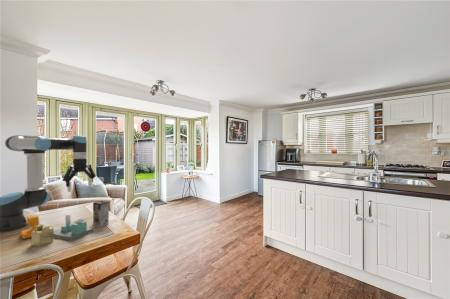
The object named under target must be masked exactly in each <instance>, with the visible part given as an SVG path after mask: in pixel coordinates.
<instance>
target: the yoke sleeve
mask: <svg viewBox="0 0 450 299" xmlns="http://www.w3.org/2000/svg"><path fill="white" fill-rule="evenodd" d="M54 231H55V229H54V227H51V226H50V225H46V226H44V224H39V225H38V226H36V230H33V231H32V237H31V246H35V247H39V248H40V247H42V246H45V245H47V244H50V243H52V242H54V241H55V237H54Z"/></svg>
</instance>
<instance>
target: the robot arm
mask: <svg viewBox="0 0 450 299" xmlns="http://www.w3.org/2000/svg"><path fill="white" fill-rule="evenodd" d="M87 144H88V141H87V136H85V135H73V136H72V138H57V137H56V138H53V137H48V138H47V137H45V136H43V135H42V136H40V135H22V134H21V135H20V134H17V135H12V136H9V137H8V138H6V140H5V142H4V145H5V147H6V148H7V149H8V150H10V151H13V152H23V155H25V156H26V181H27V183H26V184H27V185H26V188H25V189H24V193H23V192H22V191H16V192H15V191H14V192H9V193H7V194H3V195H1V196H0V232H10V231H13V230H18V229H21V228H23V227H25V226H28V223H27V219H26V217H25V215H24V210H28V209H32V208H36V207H40V206H44V205H45V204H48V202H49V200H50V196H51V194H50V191H49V190H48V189H46V187H45V186H44V178H43V174H44V171H43V168H44V167H43V166H44V164H43V156H44V155H45V154H46V152H47V151H54V150H55V151H56V150H57V151H58V150H59V151H60V150H62V151H63V150H64V151H66V150H67V151H69V150H72V158H73V159H72V165H73V166H71V165H68V166H67V170H66V172H65V174H64V176H63V178H62V181H63V182H65V186H66V187H67V188H66V189H67V192H70V193H71V192H72V179H73V178H74V177H75V176H76V174H78V173H84V174H85V175H86V176H87V177H88V178H87V180H88V181H87V184H88V185H87V186H88V188H93V183H94V179H95V177H97V175H96V173H95V172H94V170H93V168H92V164H88V163H87V162H88V159H87V157H88V154H87V152H88V151H87V150H88V149H87V147H88V145H87Z"/></svg>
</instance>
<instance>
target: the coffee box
mask: <svg viewBox="0 0 450 299" xmlns="http://www.w3.org/2000/svg"><path fill="white" fill-rule="evenodd" d="M92 204H93V206H92V208H93V210H92V211H93V213H92V215H93V217H92V218H93V220H92V221H93V225H95V226H97V227H103V226H106V225H108V224H109V206H110V205H109V202H108V201H104V200H98V201H95V202H93V203H92Z"/></svg>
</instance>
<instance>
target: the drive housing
mask: <svg viewBox="0 0 450 299" xmlns="http://www.w3.org/2000/svg"><path fill="white" fill-rule="evenodd" d="M87 222H88V221H85V219H84V217H83V218H82V217H81V218H80V219H77V220H75V221H74V222H72V223H71V214H70V213H69V214H68V213H67V214H65V224H64V225H62V226H61V227H60V228H58V229H56V230H55V229H54V239H55V238H56V239H60V240H65V241H70V242H71V241H72V242H73V241H74V240H76V239H79V238H81V237H84V236H85V235H88V234H90V233H92V232H93V231H94V228H93V227H88V225H87Z"/></svg>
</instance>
